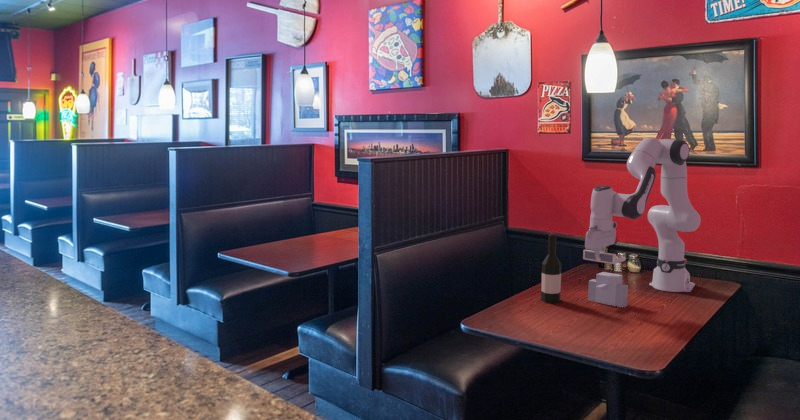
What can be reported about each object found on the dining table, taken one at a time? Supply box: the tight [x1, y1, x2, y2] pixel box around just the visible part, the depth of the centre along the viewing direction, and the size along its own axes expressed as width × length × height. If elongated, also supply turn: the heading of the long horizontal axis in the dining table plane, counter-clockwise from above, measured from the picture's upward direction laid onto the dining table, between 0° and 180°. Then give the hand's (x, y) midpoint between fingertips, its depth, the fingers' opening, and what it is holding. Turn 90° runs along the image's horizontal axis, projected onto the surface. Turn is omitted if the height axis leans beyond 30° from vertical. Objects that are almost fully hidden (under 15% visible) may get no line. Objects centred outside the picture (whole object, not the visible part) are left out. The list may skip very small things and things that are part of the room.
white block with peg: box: [587, 271, 629, 309], centre depth 261 cm, size 13×16×12 cm
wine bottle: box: [540, 232, 562, 304], centre depth 266 cm, size 8×8×30 cm
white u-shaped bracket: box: [582, 249, 627, 265], centre depth 259 cm, size 10×14×4 cm
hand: (599, 257), depth 255 cm, fingers closed on white u-shaped bracket, 2 cm apart
